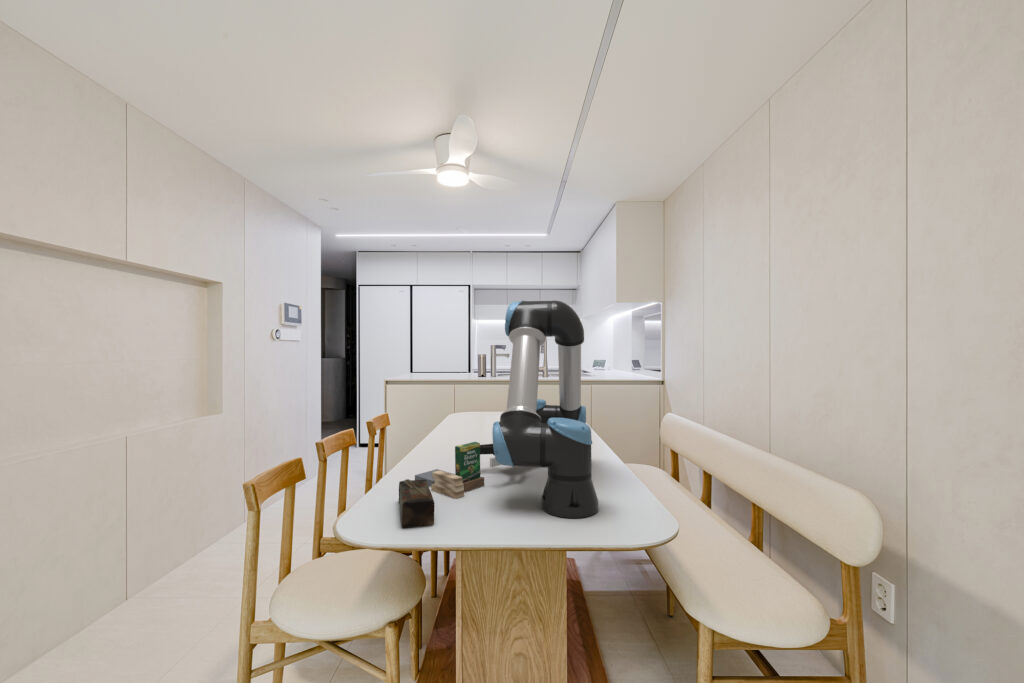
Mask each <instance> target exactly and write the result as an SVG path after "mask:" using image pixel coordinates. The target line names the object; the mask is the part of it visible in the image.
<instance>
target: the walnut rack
mask: <svg viewBox="0 0 1024 683" xmlns="http://www.w3.org/2000/svg"><path fill="white" fill-rule="evenodd" d="M463 484H464V493H467V491H468V492H469V491H473V490H476V489H478V487H479V488H482V487H484V486H485V477H483V476H480V478H477V479H474V480H471V481H468V482H465V483H463ZM481 486H482V487H481ZM475 488H476V489H475ZM472 489H473V490H472Z"/></svg>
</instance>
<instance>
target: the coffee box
mask: <svg viewBox="0 0 1024 683" xmlns="http://www.w3.org/2000/svg"><path fill="white" fill-rule="evenodd" d="M480 445H481V444H480V442H477V441H473V442H468V443H464V444H459V445H456V446H455V445H454V462H455V463H454V464H455V465H454V466H455V470H454V472H455V473H454V474H455V475H457V476H460V477H463V483H465V482H468V481H471V480H474V479H477V478H480V477H481V455H480Z"/></svg>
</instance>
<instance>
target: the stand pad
mask: <svg viewBox="0 0 1024 683" xmlns="http://www.w3.org/2000/svg"><path fill="white" fill-rule="evenodd" d="M439 470H440V471H443V472H446V473H450V474H453V475H455V473H451V472H448V471H445V470H442V469H438V468H436V469H432V470H428V471H425V472H422V473H421V472H420V473H418V474H415V475H414V480H427V484H428V486H429V487H430V486H431V484H434V483H435V479H433V478H432V472H435V471H439Z"/></svg>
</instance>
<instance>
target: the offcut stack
mask: <svg viewBox="0 0 1024 683" xmlns="http://www.w3.org/2000/svg"><path fill="white" fill-rule="evenodd" d="M438 470H439V471H435V472H432V478H433V479H435V483H434V484H431V487H430V491H432V490H433V491H432V492H434V491H435V492H434V493H437V492H438V494H440V493H441V495H443V494H444V496H446V495H447V496H446V497H449V496H450V498H453V499H455V498H456V499H460V498H462V496H463V497H464V496H465V492H464V484H463V477H460V476H457V475H453V474H454V473H452V474H450V473H451V472H449V473H446V472H447V471H445V472H443V471H444V470H442V471H440V470H441V469H438ZM459 497H460V498H459Z"/></svg>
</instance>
